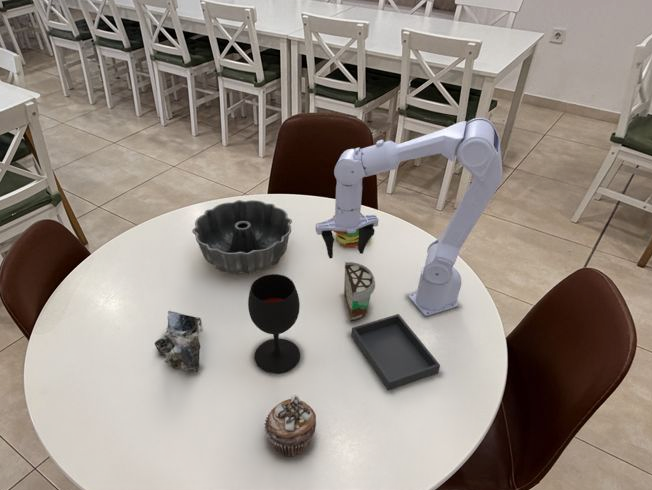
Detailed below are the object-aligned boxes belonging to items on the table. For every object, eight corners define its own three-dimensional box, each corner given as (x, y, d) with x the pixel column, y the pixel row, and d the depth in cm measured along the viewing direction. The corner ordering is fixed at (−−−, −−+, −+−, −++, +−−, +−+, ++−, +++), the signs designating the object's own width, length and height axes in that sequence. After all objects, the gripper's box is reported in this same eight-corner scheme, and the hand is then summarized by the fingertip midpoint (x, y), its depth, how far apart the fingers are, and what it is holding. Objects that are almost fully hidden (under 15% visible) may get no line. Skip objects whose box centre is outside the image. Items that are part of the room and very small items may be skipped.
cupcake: (291, 409, 100) (290, 377, 93) (326, 439, 95) (327, 408, 88) (255, 438, 96) (251, 407, 89) (289, 471, 91) (288, 440, 84)
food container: (377, 324, 117) (381, 292, 110) (351, 326, 117) (353, 294, 110) (366, 290, 126) (370, 259, 119) (342, 292, 126) (344, 260, 119)
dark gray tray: (397, 321, 118) (398, 313, 116) (438, 373, 106) (440, 365, 104) (351, 336, 115) (351, 327, 113) (387, 390, 103) (389, 382, 101)
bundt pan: (264, 219, 152) (262, 189, 145) (311, 263, 135) (311, 232, 128) (184, 247, 142) (177, 217, 135) (223, 298, 126) (218, 266, 119)
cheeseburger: (369, 252, 138) (362, 221, 131) (332, 254, 142) (324, 224, 136) (374, 231, 145) (369, 201, 138) (339, 234, 149) (332, 205, 142)
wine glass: (266, 380, 106) (259, 312, 92) (246, 349, 113) (237, 281, 99) (308, 362, 109) (308, 294, 95) (287, 333, 116) (284, 265, 102)
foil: (219, 316, 116) (194, 329, 101) (214, 360, 118) (188, 379, 104) (173, 307, 118) (142, 318, 103) (168, 350, 120) (137, 367, 106)
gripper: (321, 218, 107) (320, 267, 117) (385, 209, 109) (379, 258, 119) (313, 201, 112) (313, 250, 122) (374, 193, 114) (369, 242, 124)
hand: (345, 253), depth 121 cm, fingers open, 7 cm apart
